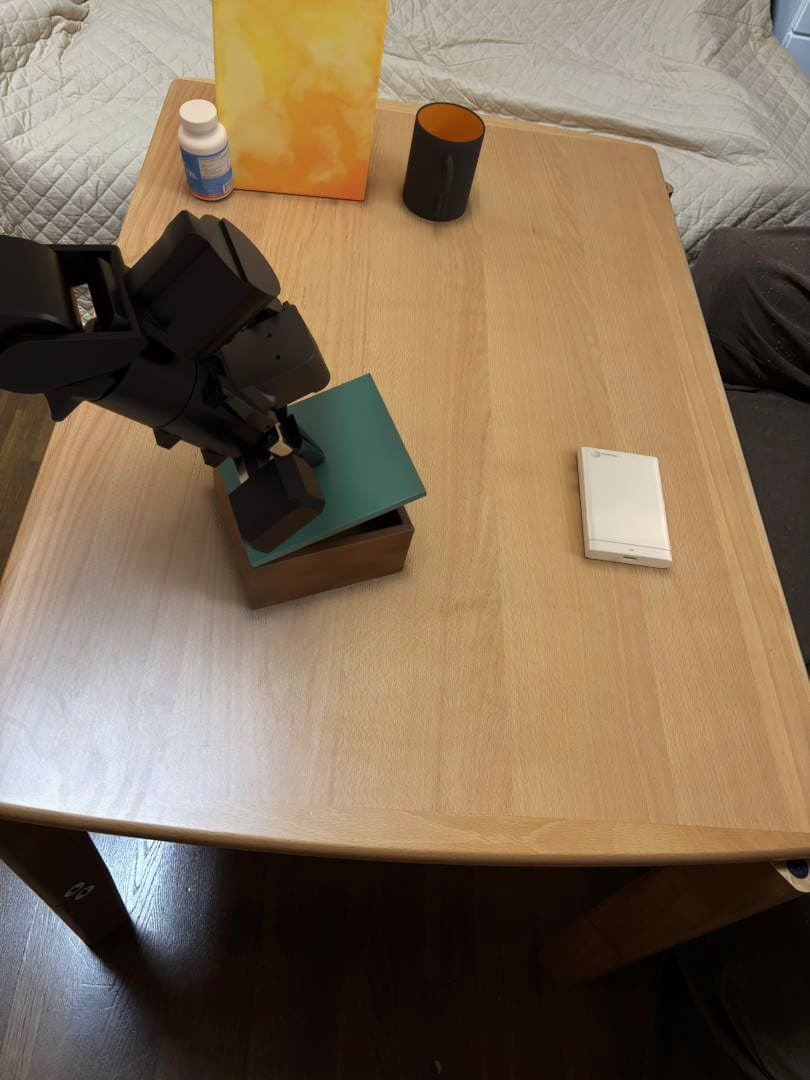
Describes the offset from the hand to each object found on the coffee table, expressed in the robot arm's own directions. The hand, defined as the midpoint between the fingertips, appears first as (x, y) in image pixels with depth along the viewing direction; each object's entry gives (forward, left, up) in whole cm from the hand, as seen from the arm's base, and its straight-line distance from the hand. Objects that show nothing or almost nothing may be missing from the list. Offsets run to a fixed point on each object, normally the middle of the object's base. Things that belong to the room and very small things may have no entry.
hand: (320, 459), depth 63 cm
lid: (0, 0, -1) cm, 1 cm away
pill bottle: (-12, +48, -10) cm, 51 cm away
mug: (+15, +49, -10) cm, 52 cm away
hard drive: (+30, +4, -10) cm, 32 cm away
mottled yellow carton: (-3, +55, -10) cm, 56 cm away
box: (0, 0, -10) cm, 10 cm away
